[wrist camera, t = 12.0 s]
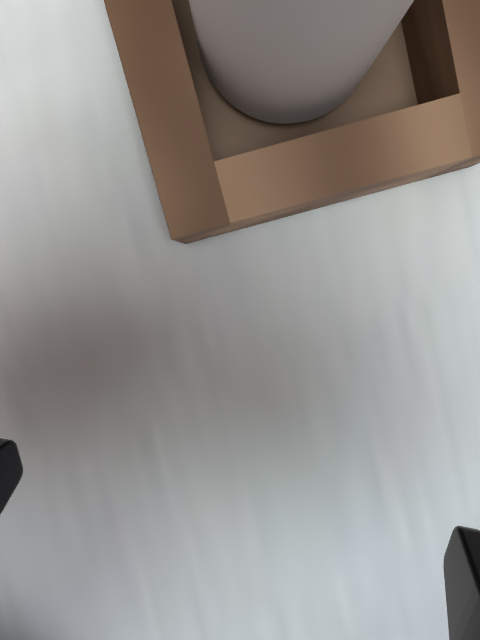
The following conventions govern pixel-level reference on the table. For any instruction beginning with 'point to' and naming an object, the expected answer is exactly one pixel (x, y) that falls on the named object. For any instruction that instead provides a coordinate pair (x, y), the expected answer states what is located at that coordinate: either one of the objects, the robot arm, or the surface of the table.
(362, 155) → the socket block
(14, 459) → the robot arm
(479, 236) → the table surface
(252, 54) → the beverage can
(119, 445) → the table surface
